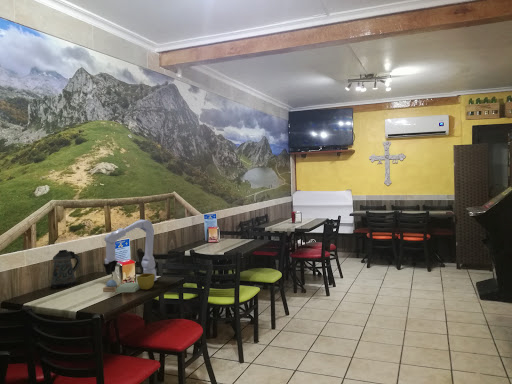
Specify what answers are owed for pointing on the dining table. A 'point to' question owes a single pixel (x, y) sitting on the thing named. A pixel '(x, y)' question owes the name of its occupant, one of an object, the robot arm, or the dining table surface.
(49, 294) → the dining table surface
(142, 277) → the flower pot
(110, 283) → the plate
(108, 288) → the stand
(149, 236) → the robot arm
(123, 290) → the grey-green flat piece
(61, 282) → the beer stein
